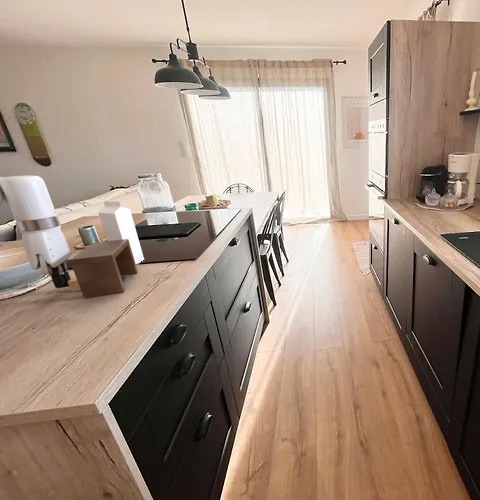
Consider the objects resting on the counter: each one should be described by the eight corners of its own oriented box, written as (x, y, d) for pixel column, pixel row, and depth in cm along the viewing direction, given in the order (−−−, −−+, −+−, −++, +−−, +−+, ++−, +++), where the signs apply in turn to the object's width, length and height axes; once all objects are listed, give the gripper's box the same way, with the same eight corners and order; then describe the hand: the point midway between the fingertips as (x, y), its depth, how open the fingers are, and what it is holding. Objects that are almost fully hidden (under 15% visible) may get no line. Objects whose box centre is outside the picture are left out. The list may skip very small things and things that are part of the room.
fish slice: (69, 293, 81) (65, 283, 79) (77, 286, 85) (73, 276, 84) (120, 286, 85) (117, 276, 84) (125, 279, 89) (122, 269, 88)
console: (84, 298, 78) (69, 259, 74) (104, 276, 91) (92, 242, 87) (123, 292, 81) (111, 254, 77) (138, 271, 94) (128, 238, 90)
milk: (130, 267, 98) (111, 203, 90) (115, 266, 99) (94, 203, 91) (144, 260, 103) (127, 199, 96) (129, 259, 104) (111, 199, 96)
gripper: (37, 219, 80) (60, 277, 87) (0, 233, 67) (31, 301, 74) (71, 216, 83) (91, 273, 90) (42, 230, 70) (68, 295, 77)
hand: (64, 286), depth 82 cm, fingers closed
